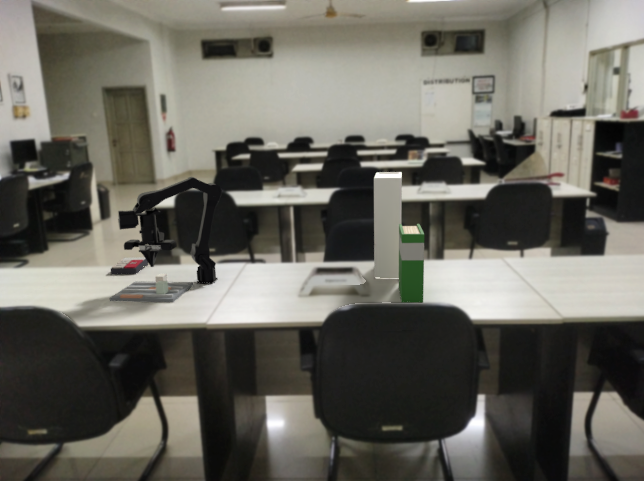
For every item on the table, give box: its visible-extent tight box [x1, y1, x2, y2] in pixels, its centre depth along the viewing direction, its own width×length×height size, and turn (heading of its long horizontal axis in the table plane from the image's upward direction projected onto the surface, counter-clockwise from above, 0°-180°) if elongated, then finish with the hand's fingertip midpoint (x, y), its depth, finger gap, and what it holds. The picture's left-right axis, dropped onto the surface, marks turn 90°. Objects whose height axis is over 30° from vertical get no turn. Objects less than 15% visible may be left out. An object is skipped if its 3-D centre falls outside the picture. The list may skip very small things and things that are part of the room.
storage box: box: [373, 171, 403, 278], centre depth 214 cm, size 21×10×40 cm, turn 172°
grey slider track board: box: [109, 280, 194, 303], centre depth 199 cm, size 24×20×2 cm
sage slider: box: [156, 280, 169, 294], centre depth 193 cm, size 3×4×4 cm
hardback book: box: [398, 223, 425, 303], centre depth 188 cm, size 18×7×24 cm, turn 175°
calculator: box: [110, 256, 149, 275], centre depth 232 cm, size 11×4×15 cm
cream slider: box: [154, 273, 168, 283], centre depth 202 cm, size 3×4×4 cm
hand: (152, 266), depth 202 cm, fingers closed
